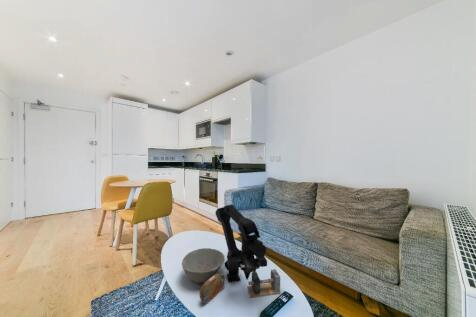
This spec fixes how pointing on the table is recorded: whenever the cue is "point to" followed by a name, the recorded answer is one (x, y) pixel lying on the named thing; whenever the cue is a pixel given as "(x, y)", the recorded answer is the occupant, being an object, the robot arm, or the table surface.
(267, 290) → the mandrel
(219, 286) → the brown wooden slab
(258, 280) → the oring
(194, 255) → the ceramic bowl
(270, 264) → the table surface
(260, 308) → the table surface
